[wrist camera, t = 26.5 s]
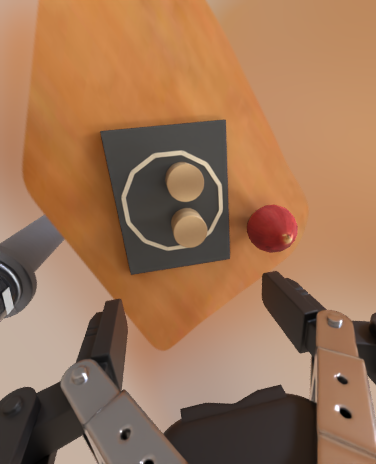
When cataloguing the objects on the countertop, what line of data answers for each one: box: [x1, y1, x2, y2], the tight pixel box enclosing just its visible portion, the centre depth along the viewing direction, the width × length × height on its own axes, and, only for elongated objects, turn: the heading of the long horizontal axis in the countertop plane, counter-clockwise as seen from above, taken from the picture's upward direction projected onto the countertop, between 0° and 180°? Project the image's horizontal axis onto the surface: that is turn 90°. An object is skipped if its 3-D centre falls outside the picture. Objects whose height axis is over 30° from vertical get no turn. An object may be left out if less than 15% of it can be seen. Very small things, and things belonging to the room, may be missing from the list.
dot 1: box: [165, 162, 204, 202], centre depth 26 cm, size 4×4×4 cm
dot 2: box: [171, 208, 207, 248], centre depth 28 cm, size 4×4×4 cm
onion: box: [247, 205, 298, 253], centre depth 28 cm, size 6×6×8 cm
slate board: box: [100, 120, 230, 275], centre depth 29 cm, size 14×18×1 cm
